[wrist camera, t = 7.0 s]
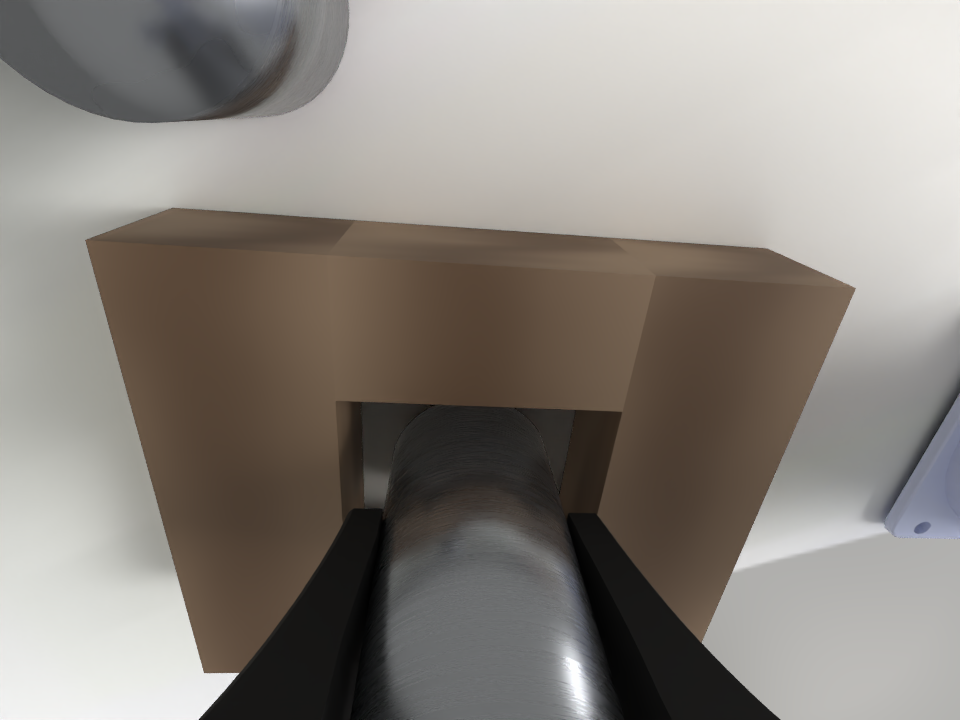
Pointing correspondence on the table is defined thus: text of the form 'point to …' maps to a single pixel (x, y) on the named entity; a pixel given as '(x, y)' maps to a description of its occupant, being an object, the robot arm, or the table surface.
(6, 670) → the table surface
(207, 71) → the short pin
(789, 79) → the table surface
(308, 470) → the wooden square frame
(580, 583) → the tall pin
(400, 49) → the table surface
